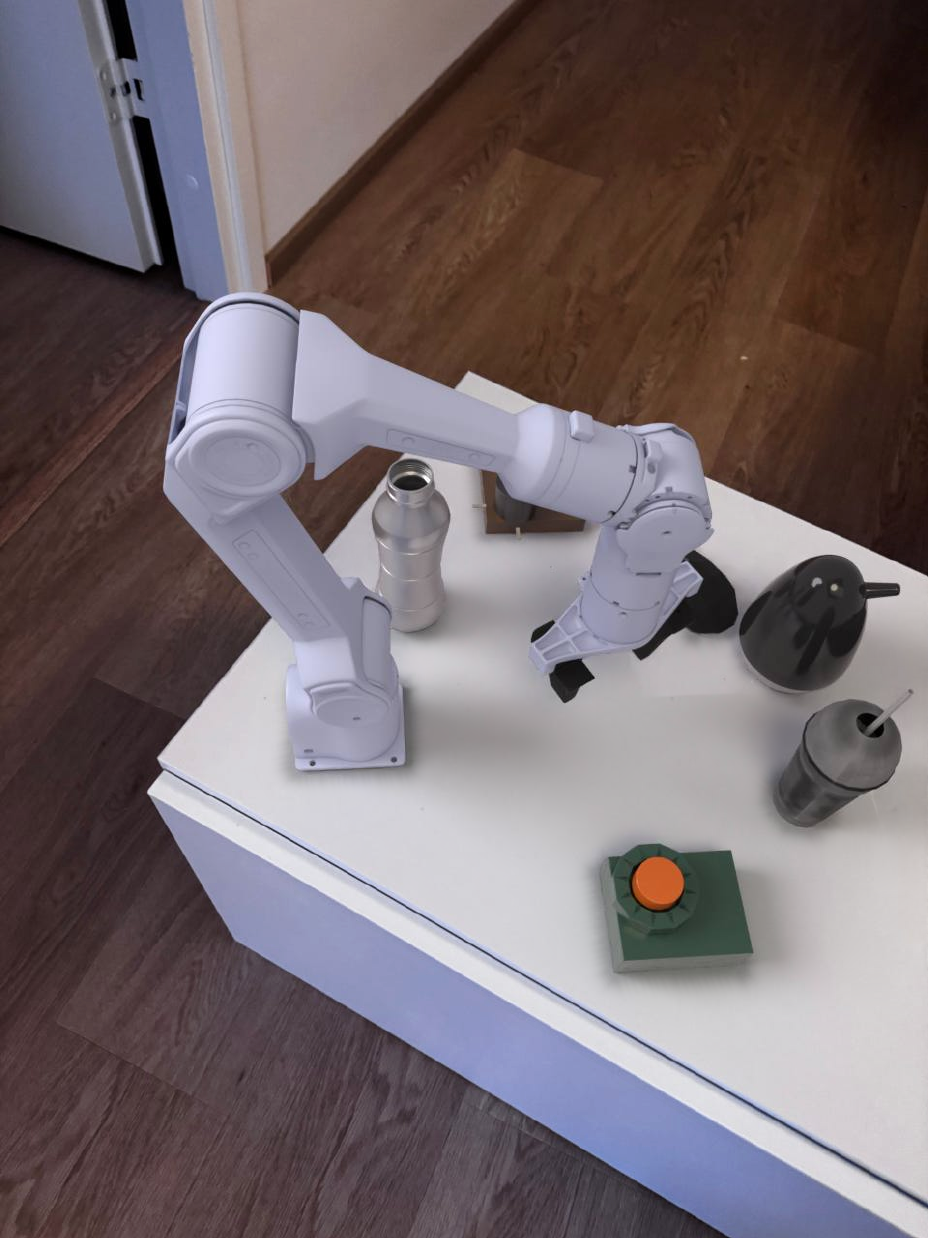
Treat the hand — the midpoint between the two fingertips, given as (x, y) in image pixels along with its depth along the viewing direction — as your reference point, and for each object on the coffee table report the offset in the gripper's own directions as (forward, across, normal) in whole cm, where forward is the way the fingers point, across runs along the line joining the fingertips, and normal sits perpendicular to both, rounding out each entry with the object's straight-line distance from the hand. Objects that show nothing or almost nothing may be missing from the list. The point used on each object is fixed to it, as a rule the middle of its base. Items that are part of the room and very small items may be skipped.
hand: (599, 671), depth 79 cm
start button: (+4, +5, +16) cm, 17 cm away
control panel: (+10, -10, -24) cm, 27 cm away
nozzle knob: (+8, -8, -23) cm, 25 cm away
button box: (+10, +4, +18) cm, 21 cm away
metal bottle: (+10, +7, -18) cm, 22 cm away
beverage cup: (+10, -12, +16) cm, 22 cm away
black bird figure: (+10, -20, +4) cm, 23 cm away
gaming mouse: (+10, -17, -8) cm, 22 cm away
